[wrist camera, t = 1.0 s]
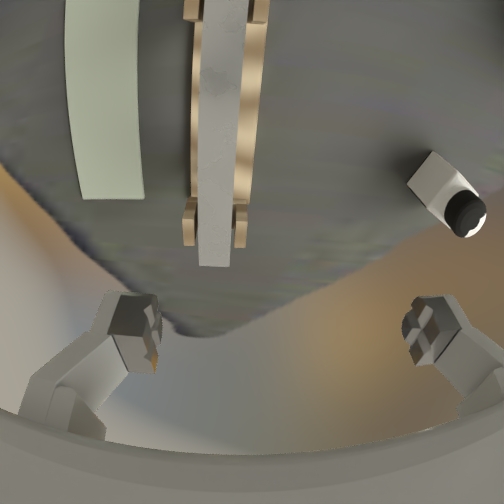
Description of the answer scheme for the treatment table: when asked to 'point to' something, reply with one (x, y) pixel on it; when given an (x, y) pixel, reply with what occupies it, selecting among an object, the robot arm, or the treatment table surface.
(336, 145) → the treatment table surface
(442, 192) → the medicine bottle
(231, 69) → the aluminium rail
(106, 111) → the sage mat
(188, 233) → the hook rack
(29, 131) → the treatment table surface
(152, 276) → the treatment table surface
